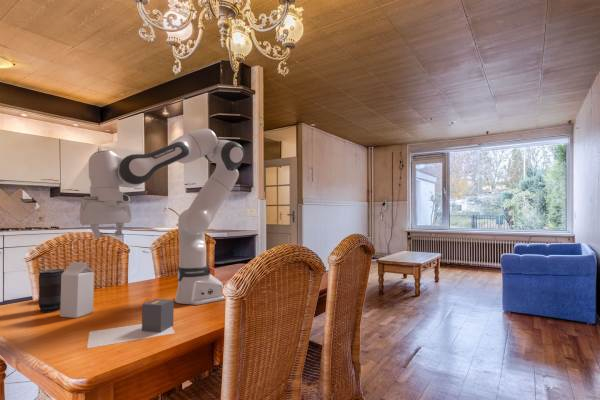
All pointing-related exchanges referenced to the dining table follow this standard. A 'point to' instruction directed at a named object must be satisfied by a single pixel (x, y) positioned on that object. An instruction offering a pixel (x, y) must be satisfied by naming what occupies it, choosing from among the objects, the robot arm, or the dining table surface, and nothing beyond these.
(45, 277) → the camera lens
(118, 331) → the workboard
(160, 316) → the block
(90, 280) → the milk carton
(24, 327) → the dining table surface
